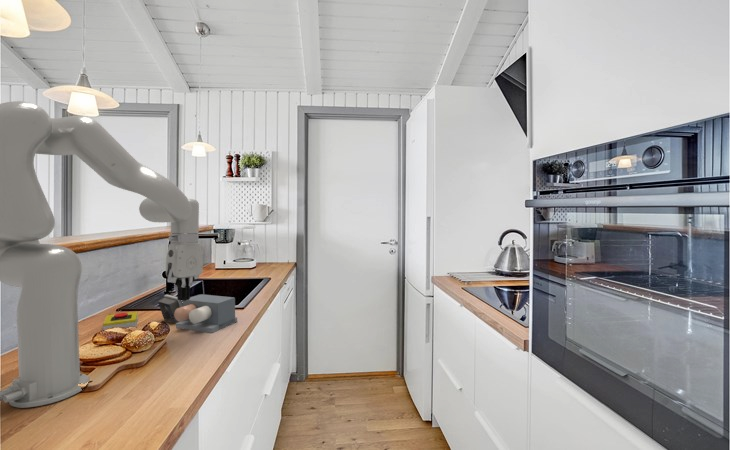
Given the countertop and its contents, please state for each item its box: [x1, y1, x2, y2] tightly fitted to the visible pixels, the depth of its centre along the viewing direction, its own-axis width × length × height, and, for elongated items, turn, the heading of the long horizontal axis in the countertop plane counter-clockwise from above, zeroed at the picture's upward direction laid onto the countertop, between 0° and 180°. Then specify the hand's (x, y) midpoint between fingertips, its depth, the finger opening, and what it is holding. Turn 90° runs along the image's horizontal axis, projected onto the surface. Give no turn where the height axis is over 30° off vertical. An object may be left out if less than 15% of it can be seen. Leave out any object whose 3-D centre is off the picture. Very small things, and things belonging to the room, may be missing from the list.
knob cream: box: [189, 306, 212, 324], centre depth 114 cm, size 12×4×4 cm, turn 161°
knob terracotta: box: [174, 304, 197, 322], centre depth 116 cm, size 12×4×4 cm, turn 161°
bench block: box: [175, 293, 238, 334], centre depth 117 cm, size 12×15×9 cm
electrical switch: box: [157, 294, 183, 325], centre depth 121 cm, size 9×5×9 cm, turn 57°
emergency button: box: [102, 311, 139, 331], centre depth 118 cm, size 9×4×15 cm
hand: (183, 299), depth 105 cm, fingers closed
